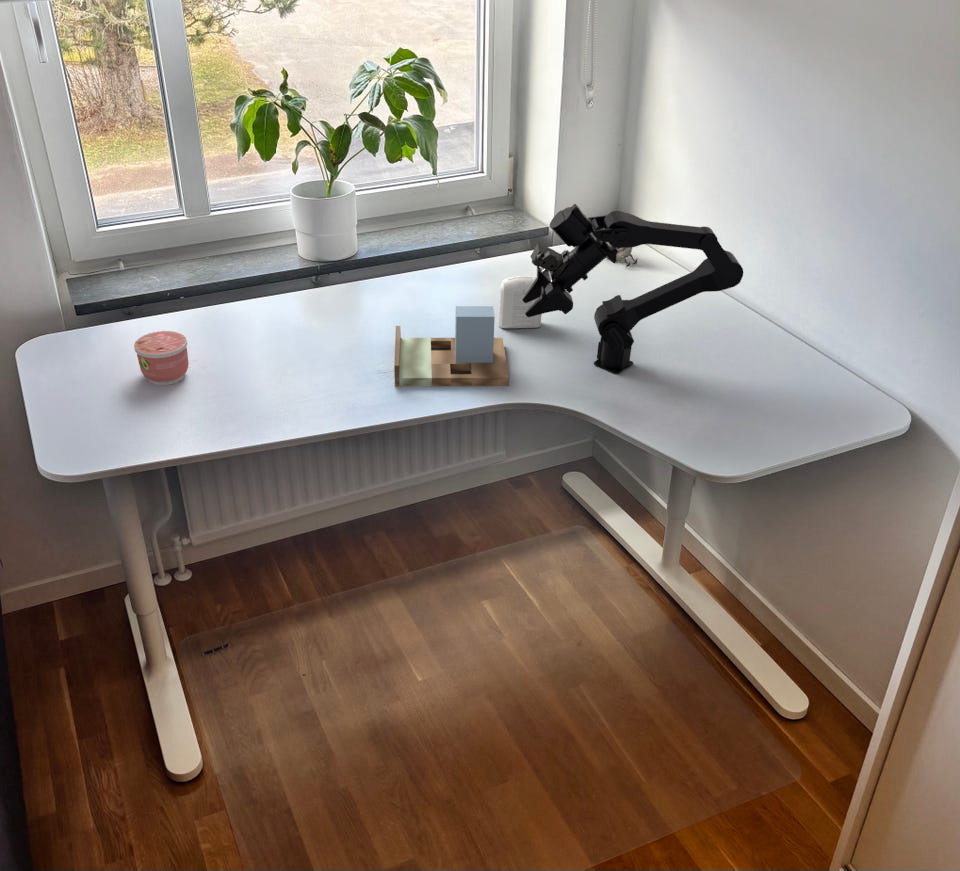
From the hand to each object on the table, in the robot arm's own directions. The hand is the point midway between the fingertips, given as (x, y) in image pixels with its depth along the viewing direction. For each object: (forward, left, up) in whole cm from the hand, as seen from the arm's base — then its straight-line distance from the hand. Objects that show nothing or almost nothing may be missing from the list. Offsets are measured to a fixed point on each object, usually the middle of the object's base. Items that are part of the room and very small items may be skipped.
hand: (525, 308), depth 202 cm
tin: (+7, +8, -12) cm, 16 cm away
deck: (+10, +10, -14) cm, 20 cm away
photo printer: (+12, -14, -14) cm, 24 cm away
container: (+50, +57, -14) cm, 77 cm away
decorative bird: (+20, -63, -14) cm, 67 cm away
